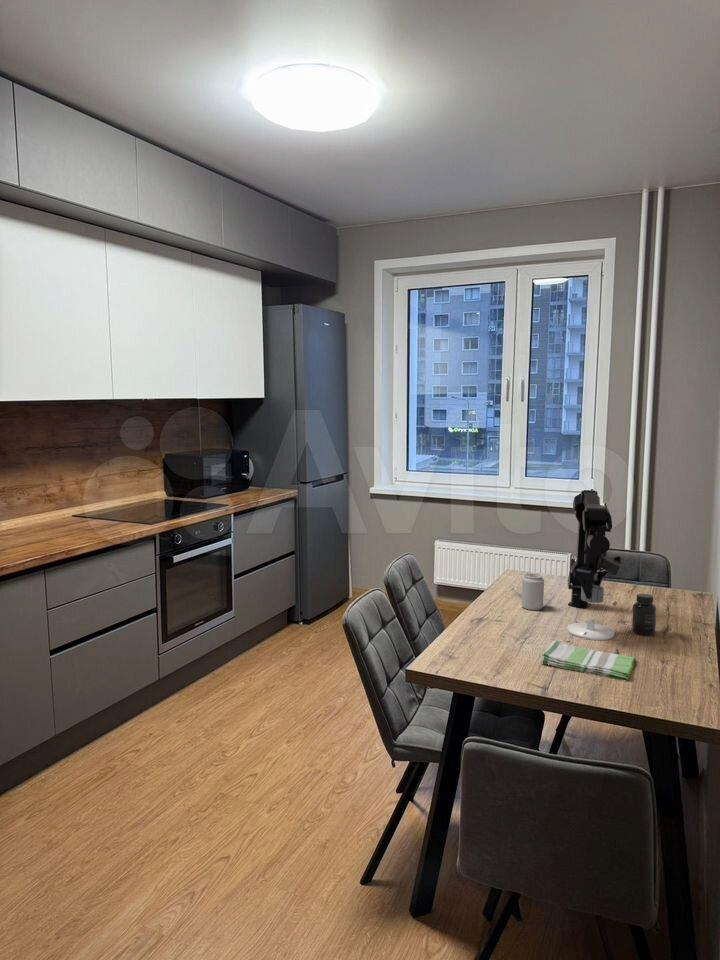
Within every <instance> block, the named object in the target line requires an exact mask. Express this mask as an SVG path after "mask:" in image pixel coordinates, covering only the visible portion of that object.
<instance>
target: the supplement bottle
mask: <svg viewBox="0 0 720 960" xmlns="http://www.w3.org/2000/svg"><path fill="white" fill-rule="evenodd" d="M635 601H636V602H634V603H633V605H632V616H631V617H632V618H631V619H632V621H631V622H632V623H631V631H632V632H633V633H634V634H636V635H639V636H653V635H655V633H656V627H657V626H656V624H657V623H656V622H657V607H656V605H655V604H653V603H654V596H653V595H652V594H648V593H637V594H636V600H635Z"/></svg>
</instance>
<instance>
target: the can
mask: <svg viewBox="0 0 720 960" xmlns="http://www.w3.org/2000/svg"><path fill="white" fill-rule="evenodd" d="M523 576H524V577H522V581H521V582H522V583H521V584H522V585H521V606H522V607H523V608H524V609H526V610H527V609H528V611H539V610H541V609H542V608H543V607H544V594H545V593H544V591H545V579H544V578H543V575H542V574H540V573H528V572H527V573H524V575H523Z"/></svg>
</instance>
